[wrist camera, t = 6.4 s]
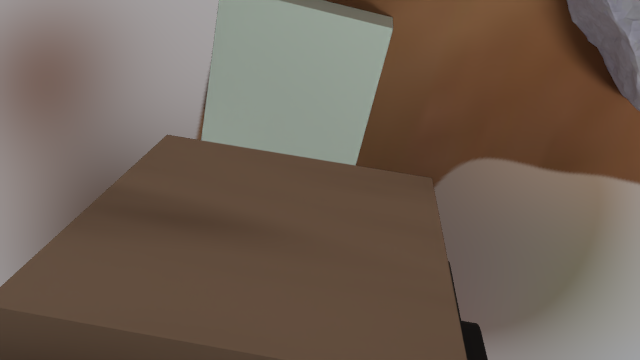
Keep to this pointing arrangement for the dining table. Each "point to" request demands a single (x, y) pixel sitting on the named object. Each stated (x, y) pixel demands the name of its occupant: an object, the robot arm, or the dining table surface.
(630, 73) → the stone block
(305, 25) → the sage block
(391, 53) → the dining table surface
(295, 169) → the walnut block
